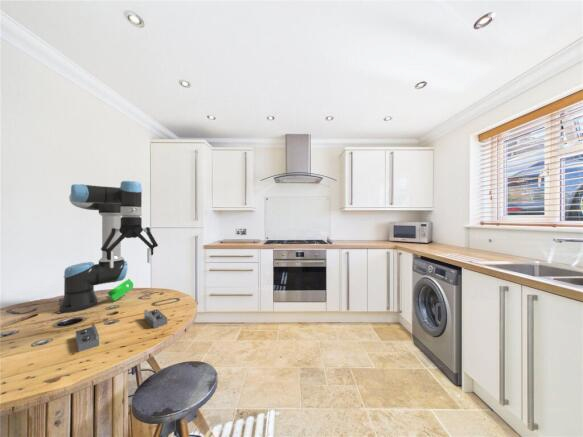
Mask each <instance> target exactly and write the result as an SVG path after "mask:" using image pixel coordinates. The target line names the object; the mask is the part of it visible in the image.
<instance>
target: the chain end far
mask: <svg viewBox="0 0 583 437" xmlns="http://www.w3.org/2000/svg"><path fill="white" fill-rule="evenodd" d="M143 313H144V314H143V319H144V320H145V321H146V323H148V324H149V325H150V326H151V327H152V328H153V329H155V328H159V327H162V326H165V325H168V317H167V316H166V315H164V313H163V312H161V311H160V310H159V309H157V308H156V309H152V310H149V311H148V310H147V309H144V310H143Z"/></svg>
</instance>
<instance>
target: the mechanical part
mask: <svg viewBox="0 0 583 437" xmlns="http://www.w3.org/2000/svg"><path fill="white" fill-rule="evenodd" d="M127 285H128V286H127ZM132 289H134V282H133V281H132V280H131V278H128V279H126V280H125V281H123V282H122V283H120V284H119V285H117V286H116V287H114V288H113V289H111V290H109V291H108V292H107V295H108V296H109V297H110V298H111V300H113V301H114V302H115V301H116V300H118V299H119V298H121V297H123V296H124V295H125V294H127V293H128V292H129V291H131V290H132Z"/></svg>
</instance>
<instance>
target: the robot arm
mask: <svg viewBox="0 0 583 437" xmlns="http://www.w3.org/2000/svg"><path fill="white" fill-rule="evenodd" d="M142 188H143V187H142V183H140V182H139V181H134V180H133V181H132V180H122V181H121V182H120V187H116V186H115V187H114V186H102V185H101V186H100V185H90V184H84V183H83V184H82V183H81V184H76V183H74V184H72V185H71V186H70V195H69V198H68V199H69V201H70V203H71V205H73V206H74V207H76V208H79V209H83V210H89V211H98V214H99V215H100V216H101V237H102V238H101V247H100V251H101V258H100V259H99V260H98V263H96V264H95V263H94V262H92V261H89V262H82V263H76V264H73V265H70V266H68V267H66V268H65V269H64V274H63V275H64V276H63V279H64V280H63V281H64V282H63V283H64V284H63V286H64V288H63V289H64V293H63V294H64V295H63V298H62V300H61V302H60V304H59V310H58V311H59V312H60V313H75V312H79V311H86V310H87V309H91V308H93V307H95V306H97V305H98V304H99V299H98V297H97V294H96V292H95V289H94V288H95V286H97V285H99V286H100V285H103V284H105V285H106V284H110V283H116V282H120V281H123V280H125V278H126V276H127V274H128V272H127V271H128V262H127V260H125V258H124V257H123V256H122V255H121V253H122V252H121V251H122V250H121V249H122V248H121V247H122V244H121V243H122V241H123V240H125V238H126V239H131V238H133V239H135V238H138V239H140V240H141V241H142V242H143V243H144V244H145V245H146V246H147V247H148V248H147V249H146V252H147V253H146V257H147V258H146V259H147V261H146V262H147V263H148V264H151V263H152V256H153V255H154V248H156V247H158V246H159V245H158V243H157V240H156V239H155V237H154V236H153V234H152V232H151V228H150V227H147V226H146V227H143V226H142V225H143V224H142V223H143V222H142V215H143V214H142V213H143V212H142V206H143V205H142V203H143V202H142V198H143V197H142V196H143V195H142V194H143V193H142V191H143V189H142ZM143 232H144V233H145V234H146V235H147V236H148V239H149V241H148V240H147V239H146V237H144V236H143V235H142V233H143Z"/></svg>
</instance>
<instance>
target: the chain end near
mask: <svg viewBox="0 0 583 437" xmlns="http://www.w3.org/2000/svg"><path fill="white" fill-rule="evenodd" d="M75 341H76V345H77V346H76V347H77V350H78V352H79V353H80V352H83V351H86V350H90V349H92V348H95V347H99V346H100V335H99V332H98V330H97V328H96V325H95V323H91V327H89V326H88V327H87V328H82V329H79V330H76V331H75Z"/></svg>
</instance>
